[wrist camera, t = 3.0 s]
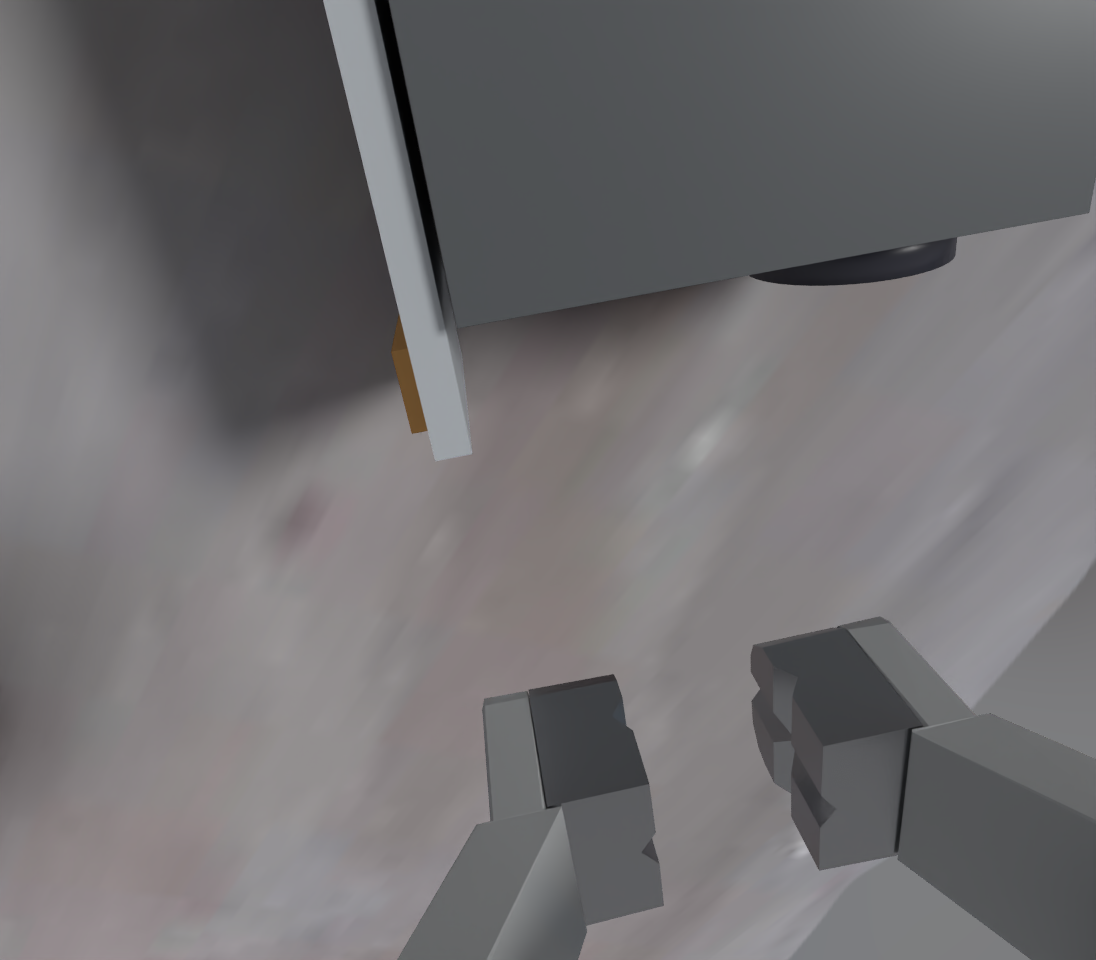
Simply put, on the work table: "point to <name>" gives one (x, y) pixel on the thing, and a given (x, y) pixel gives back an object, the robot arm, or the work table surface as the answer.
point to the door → (403, 224)
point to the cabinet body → (737, 138)
